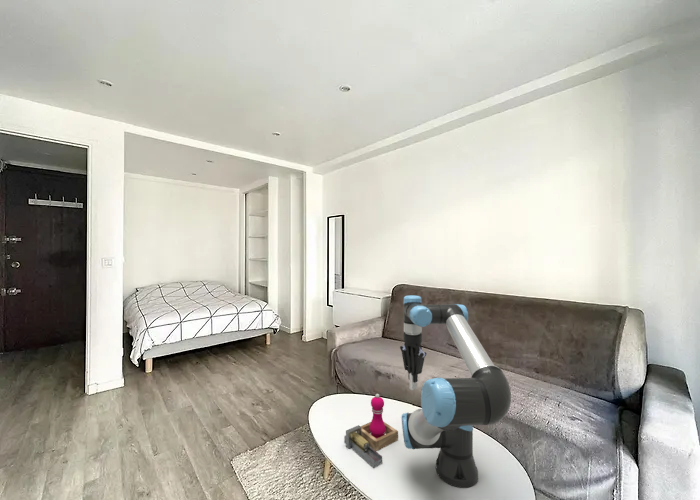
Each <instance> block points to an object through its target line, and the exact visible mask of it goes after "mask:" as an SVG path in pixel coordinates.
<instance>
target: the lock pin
mask: <svg viewBox="0 0 700 500" xmlns="http://www.w3.org/2000/svg"><path fill="white" fill-rule="evenodd" d="M351 440H352V441H353V442H354V443H355V444H356V445H357V446H359V447H360V448H361V449H362V450H363V451H368V450H369V448H370V445H369V444H368V441H367V440H365V439H364V438H363V437H362V436H360V435H359V434H358V433H357V432H355V433H352V434H351Z"/></svg>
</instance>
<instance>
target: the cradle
mask: <svg viewBox="0 0 700 500" xmlns="http://www.w3.org/2000/svg"><path fill="white" fill-rule="evenodd" d="M383 422H384V424H385V428H386V431H385V433H384V434H385V435H383V436H381V437H379V438H377V439H376V438H375V437H373V436H372V435H371V432H370V423H371V421H370V422H367V423H365V424H362V425H360V426H361V428H362V437H363V438H364V439H365V440H367V441H368V444H369V445H370V447H371V448H372V449H374V450H375V451H376V452H378V451H379V450H382V449H383V448H386V447H387V446H389V445H392V444H394V443H396V442H397V441H399V431H398V430H397V429H396V428H394V427H393V426H391V425H390V424H389V423H386V422H385V421H384V420H383Z"/></svg>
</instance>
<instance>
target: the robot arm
mask: <svg viewBox="0 0 700 500" xmlns="http://www.w3.org/2000/svg"><path fill="white" fill-rule="evenodd" d="M402 306H403V332H404V333H403V345H401V346H399V349H400V351H401V356H402V361H403V367H404V370H405V371H407V375H408V376H407V377H408V381H409V390H411V391H414V390H417V389H418V387H417V385H418V384H417V383H418V381H419V380H418V379H419V378H418V375H421V374H422V372H423V366H424V362H425V359H426V356H427V352H426V351H424V350H422V342H423V334H422V333H423V331H422V330H423V328H424V327H428V326H429V325H445V326H446V329H447V331H448V332H449V335H450V336H451V339H452V340H453V342H454V344H455V346H456V349H457V350H458V352H459V354H460V356H461V359H462V360H463V363H464V364H465V367H466V368H467V370H468V372H469V375H470V377H450V378H449V377H445V378H444V377H434V378H430V379H429V378H428V379H427V380H426V381H424V382H423V385H422V388H421V394H420V404H421V408H418V409H415V410H413V412H405V413H402V414H401V427H402V428H401V429H402V435H403V443H404V447H405V448H406V449H410V450H418V449H419V450H420V449H421V450H422V449H439V452H438V453H437V454H438V455H437V457H436V461H435V472H436V474H437V476H438V477H439V478H440V479H441V480H442V481H443V482H445V483H446V484H448V485H450V486H452V487H457V488H469V487H473V486H475V484H477V482H478V480H479V471H478V467H477V464H476V461H475V458H474V452H473V451H474V450H473V449H474V448H473V445H474V443H473V440H474V439H473V437H474V436H473V435H474V433H473V431H474V426H492V425H496V424H498V423H499V422H501V421H502V420H503V419H504V418H506V416H507V414H508V413H509V410H510V407H511V403H512V392H511V387H510V383H509V380H508V378H507V376H506V375H505V373H504V371H502V369H501V368H500V367H498V366H497V365H495V364H494V362H493V361H492V359H491V357H490V356H489V354H488V353H487V351H486V350H485V348H484V346H483V345H482V343H481V342H480V340H479V338H478V336H477V335H476V334H475V332H474V331H473V329H472V328H471V325H470V324H469V322H468V321H469V311H468V307H466V306H465V305H464V304H458V303H452V304H450V303H449V304H448V303H447V304H445V303H444V304H423V301H422V297H421V296H420V295H413V294H412V295H405V296H404V297H403V303H402Z"/></svg>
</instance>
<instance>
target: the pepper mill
mask: <svg viewBox="0 0 700 500" xmlns="http://www.w3.org/2000/svg"><path fill="white" fill-rule="evenodd" d="M370 406H371V412H372V417H371V418H372V419H371V421H370V422H371V423H370V432H371V433H370V434H371V435H372V436H373V437H375V438H376V439H377V438H379V437H381V436H383V435H386V434H385V431H386V428H385V424H384V422H385V421H384V420H383V413H384V406H385V401H384V399H383V398H382V397H381V396H380V394H379V393H376V394H375V396H374V397H372V398H371V400H370ZM383 421H384V422H383Z"/></svg>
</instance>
